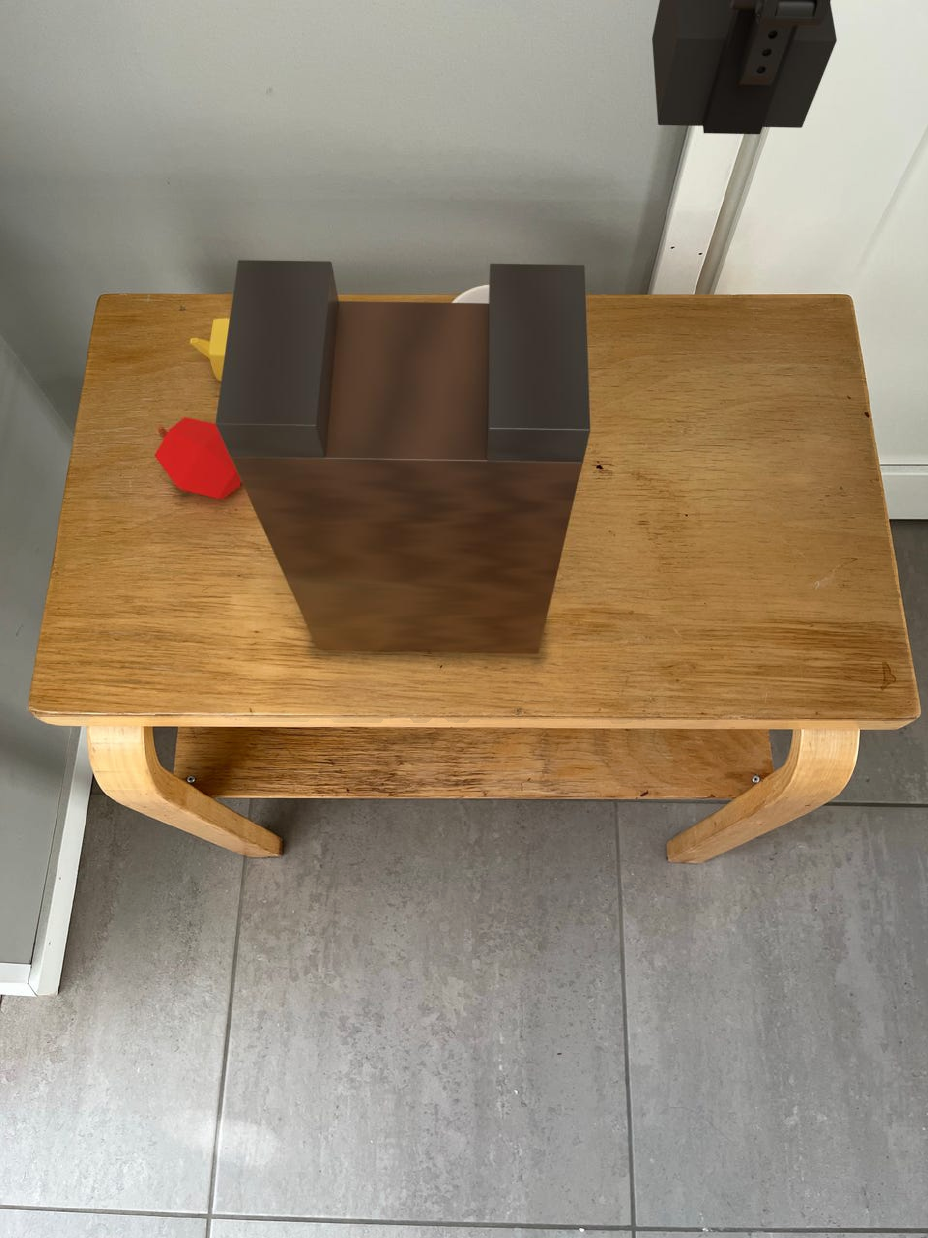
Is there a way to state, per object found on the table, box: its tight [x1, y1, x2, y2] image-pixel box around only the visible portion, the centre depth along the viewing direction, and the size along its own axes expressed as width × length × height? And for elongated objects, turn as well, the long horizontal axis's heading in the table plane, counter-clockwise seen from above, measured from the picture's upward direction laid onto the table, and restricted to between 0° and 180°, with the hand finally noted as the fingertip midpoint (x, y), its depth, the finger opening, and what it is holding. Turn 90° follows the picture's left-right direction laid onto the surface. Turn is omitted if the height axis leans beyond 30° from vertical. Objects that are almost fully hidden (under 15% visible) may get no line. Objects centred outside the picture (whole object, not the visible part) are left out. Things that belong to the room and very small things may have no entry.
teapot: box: [189, 317, 230, 382], centre depth 82 cm, size 8×6×5 cm
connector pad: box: [651, 0, 838, 129], centre depth 43 cm, size 7×6×4 cm
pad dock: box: [214, 259, 591, 655], centre depth 61 cm, size 18×10×33 cm, turn 89°
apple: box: [153, 416, 242, 501], centre depth 78 cm, size 7×7×8 cm
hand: (725, 76), depth 45 cm, fingers closed on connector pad, 6 cm apart
